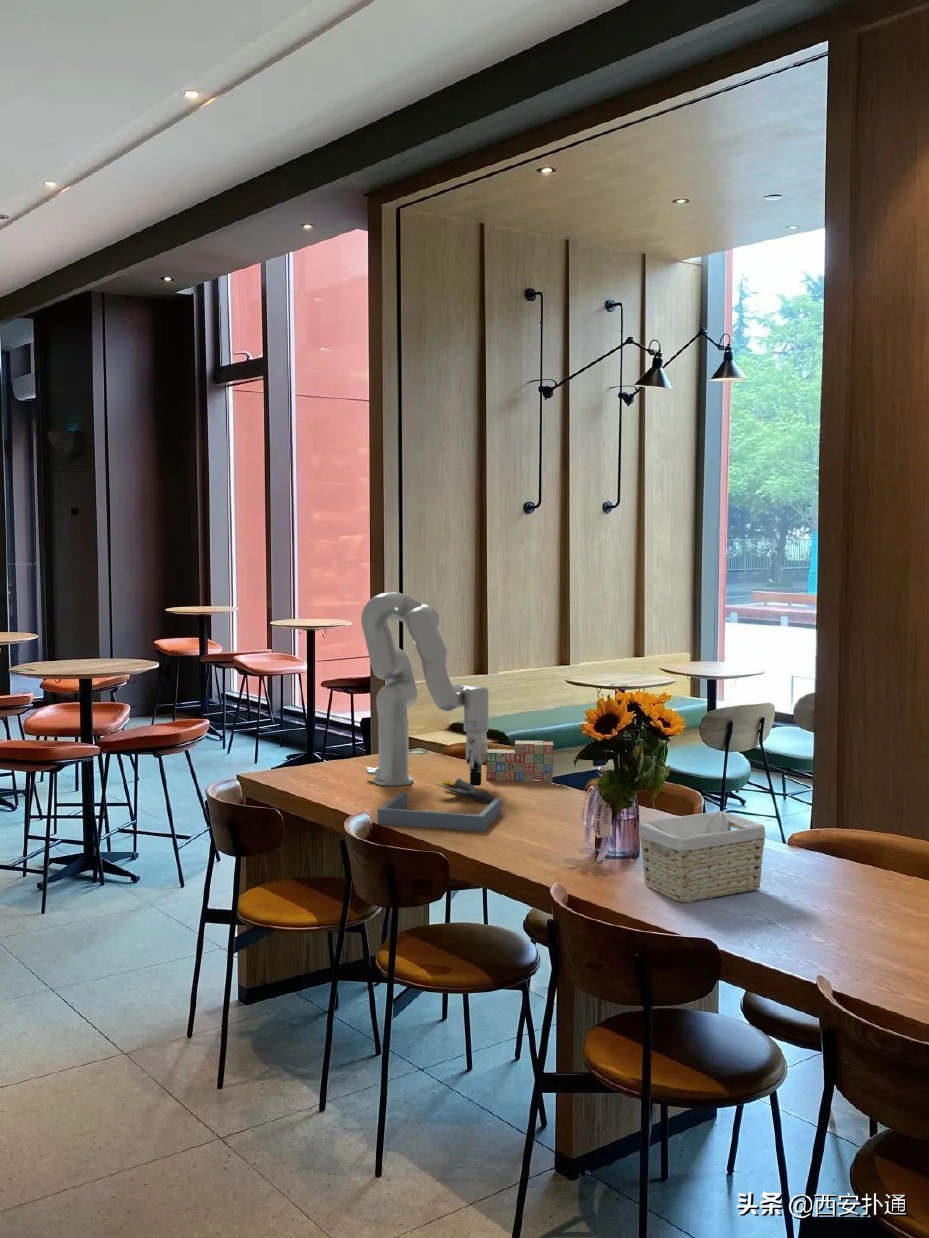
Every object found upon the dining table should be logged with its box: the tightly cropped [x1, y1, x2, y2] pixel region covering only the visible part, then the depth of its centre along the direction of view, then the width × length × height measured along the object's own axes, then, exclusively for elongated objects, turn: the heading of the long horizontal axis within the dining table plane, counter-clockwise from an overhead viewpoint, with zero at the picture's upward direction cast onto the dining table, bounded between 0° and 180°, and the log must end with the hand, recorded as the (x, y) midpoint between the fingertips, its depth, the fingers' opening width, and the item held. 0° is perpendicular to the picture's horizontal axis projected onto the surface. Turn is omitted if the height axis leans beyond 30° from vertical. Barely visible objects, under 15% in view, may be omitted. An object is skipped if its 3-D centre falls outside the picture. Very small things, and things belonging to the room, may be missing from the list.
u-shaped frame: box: [377, 791, 502, 832], centre depth 303 cm, size 29×21×4 cm
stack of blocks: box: [485, 740, 554, 783], centre depth 353 cm, size 21×6×12 cm, turn 86°
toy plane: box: [434, 777, 495, 805], centre depth 328 cm, size 25×17×5 cm
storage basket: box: [638, 810, 766, 903], centre depth 242 cm, size 24×16×15 cm
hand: (475, 784), depth 340 cm, fingers closed
